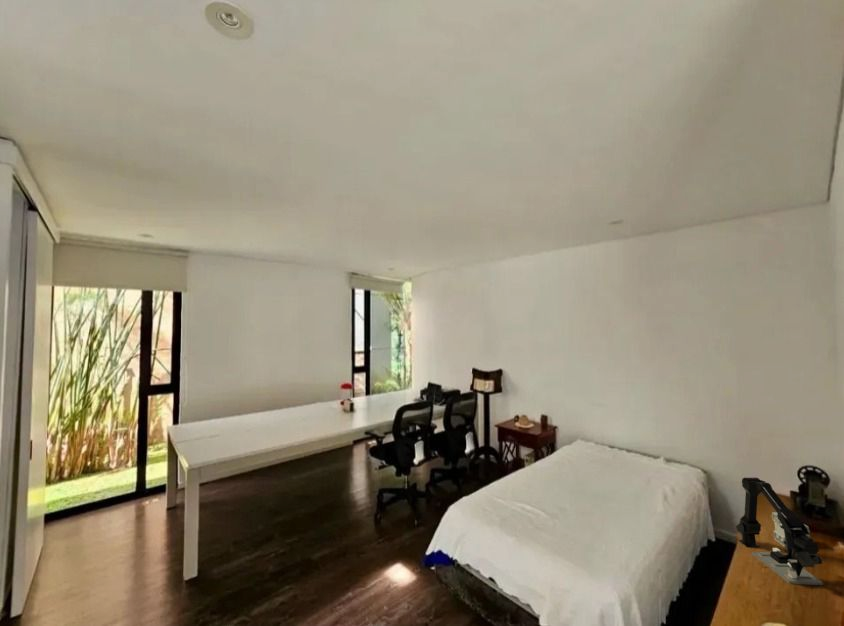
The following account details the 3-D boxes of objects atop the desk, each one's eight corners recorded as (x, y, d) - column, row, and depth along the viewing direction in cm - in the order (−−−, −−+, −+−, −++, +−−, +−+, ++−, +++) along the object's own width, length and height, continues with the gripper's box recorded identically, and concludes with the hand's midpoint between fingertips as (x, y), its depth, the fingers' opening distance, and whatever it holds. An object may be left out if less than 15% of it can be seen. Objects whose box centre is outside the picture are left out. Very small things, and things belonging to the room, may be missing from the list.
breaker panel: (752, 554, 200) (751, 551, 200) (781, 555, 198) (781, 552, 198) (789, 583, 177) (789, 580, 177) (822, 585, 175) (822, 582, 175)
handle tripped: (788, 575, 180) (787, 568, 181) (792, 575, 180) (791, 568, 180) (792, 578, 178) (791, 571, 178) (796, 578, 178) (796, 571, 178)
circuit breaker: (814, 548, 203) (811, 519, 204) (784, 546, 206) (781, 518, 207) (803, 540, 210) (800, 513, 211) (774, 539, 213) (771, 512, 214)
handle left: (773, 554, 197) (772, 547, 198) (777, 554, 197) (776, 547, 197) (776, 556, 195) (776, 550, 195) (781, 556, 195) (780, 550, 195)
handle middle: (787, 564, 188) (786, 557, 189) (791, 564, 188) (791, 557, 188) (791, 567, 186) (790, 560, 186) (795, 567, 186) (795, 560, 186)
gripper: (786, 551, 173) (790, 586, 172) (831, 551, 171) (836, 587, 170) (767, 538, 184) (771, 571, 183) (809, 538, 182) (813, 571, 181)
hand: (798, 575), depth 179 cm, fingers closed
